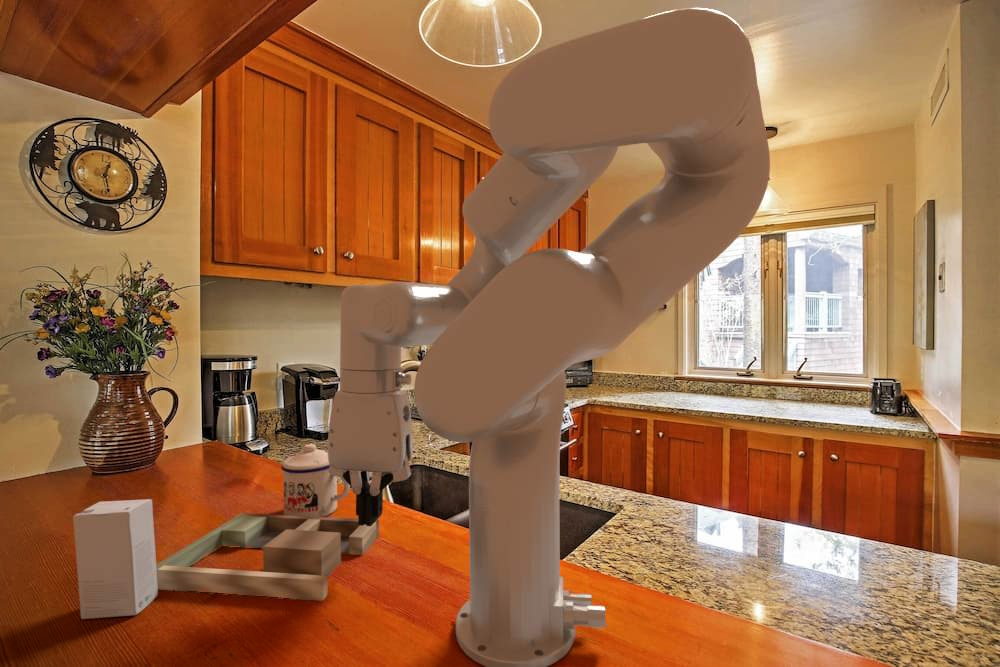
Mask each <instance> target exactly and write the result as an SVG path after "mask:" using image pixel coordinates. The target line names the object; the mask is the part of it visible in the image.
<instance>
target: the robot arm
mask: <svg viewBox="0 0 1000 667" xmlns="http://www.w3.org/2000/svg"><path fill="white" fill-rule="evenodd" d="M756 71H757V70H756V62H755V57H754V54H753V49H752V46H751V43H750V41H749V38H748V37H747V35H746V33H745V32H744V30H743V28H742V27H741V26H740V25H739V23H737V22H736V21H735V20H734V19H733V18H732V17H730V16H729V15H727V14H724V13H722V12H721V11H718V10H715V9H711V8H710V9H709V8H704V7H703V8H702V7H688V8H681V9H673V10H670V11H664V12H661V13H657V14H654V15H650V16H647V17H643V18H639V19H636V20H633V21H630V22H626V23H624V24H620V25H617V26H613V27H610V28H607V29H603V30H600V31H596V32H594V33H590V34H587V35H583V36H581V37H577V38H574V39H570V40H567V41H565V42H562V43H558V44H556V45H553V46H550V47H548V48H545V49H543V50H541V51H539V52H536V53H535V54H532V55H531V56H528V57H527V58H526V59H524V60H523V61H520V62H519V63H517V65H516V66H515V67H513V68H512V69H510V70H509V71H508V73H507V74H505V76H504V77H503V78H502V80H501V81H500V82H499V84H498V86H496V89H495V91H494V92H493V95H492V97H491V99H490V103H489V107H488V108H489V109H488V127H489V132H490V135H491V137H492V139H493V142H494V143H495V144H496V145H497V148H499V149H500V150H501V151H502V152H503V153H502V155H501V156H500V157H499V159H498V160H497V161H496V162H495V163H494V164H493V166H492V167H491V168H490V170H489V171H488V172H486V174H485V176H484V177H482V179H481V180H480V181H479V182H478V184H477V185H476V186H475V187H474V188H473V189H472V191H471V192H470V193H469V194H468V195H467V196H466V197H465V199H464V201H463V203H462V210H461V211H462V212H461V213H462V216H463V218H464V219H463V220H464V222H465V224H466V225H467V227H468V229H469V231H470V232H471V234H472V235H473V236H474V237H475V239H474V247H473V250H472V253H471V255H470V257H469V258H468V260H467V261H466V262H465V264H464V265H463V267H462V268H461V269H460V270H459V271H458V272H457V273H455V276H453V278H452V279H450V281H449V282H448V283H446V284H436V283H435V284H434V283H427V282H426V283H425V282H411V281H410V282H409V281H395V282H394V281H392V282H389V283H388V282H387V283H384V284H381V285H379V284H378V285H377V284H353V285H348V286H347V287H345V288H344V289H343V290H342V292H341V295H340V339H339V340H340V342H339V343H340V345H339V346H340V348H339V349H340V350H339V351H340V352H339V355H340V358H339V360H340V362H339V366H340V367H339V390H337V391H335V394H334V397H333V402H332V407H331V411H330V417H329V424H328V435H327V436H328V437H327V453H328V461H329V464H330V467H329V473H330V474H331V475H334V476H337V478H340V479H341V478H344V479H345V480H346V482H347V483H348V484H349V485H350V488H351V490H352V493H353V494H354V495H355V515H356V516H358V518H357V519H358V525H361V526H363V525H367V526H372V525H373V524H374V522H375V521H376V520H379V518H380V517H382V514H383V512H384V511H383V510H384V509H383V508H384V502H383V501H384V500H383V499H384V498H383V497H384V489H386V487H388V486H389V485H390V484H391V483H396V482H401V481H406V480H408V479H409V477H410V476H412V471H411V467H410V463H409V462H410V461H411V460H412V459H413V455H414V452H413V451H414V440H413V424H412V415H411V408H410V402H409V401H410V400H409V396H408V392H407V391H406V390H401V389H402V388H403V386H407V385H409V386H410V385H411V383H412V374H407V373H405V372H403V367H402V348H410V347H423V346H430V347H429V349H428V350H427V352H426V353H425V354H424V355H423V358H422V360H421V361H420V363H419V365H418V369H417V371H416V374H415V375H416V376H415V379H414V386H413V387H414V394H413V395H414V396H413V397H414V403H415V407H416V410H417V413H418V415H419V417H420V419H421V420H422V422H423V424H424V425H425V426H426V427H427V428H428V429H429V430H430V431H431V432H432V433H434V434H436V435H437V436H438V437H440V438H442V439H444V440H447V441H450V442H454V443H455V442H456V443H463V444H465V443H472V444H471V449H470V453H469V454H470V455H469V466H468V516H469V517H468V521H469V524H468V525H469V526H468V529H469V530H468V532H469V534H468V535H469V536H468V537H469V600H467V601H466V602H465V603H464V605H462V606H461V608H460V609H459V611H458V613H457V615H456V619H455V635H456V641H457V643H458V644H459V648H460V649H461V650H462V651H463V652H464V653H465V655H467V656H468V657H469V658H470V659H472V660H473V661H474V662H476V663H478V664H479V665H481V666H484V667H549V666H551V665H553V664H556V663H557V662H558V661H559V660H561V659H562V658H563V657H565V656H566V655H567V653H569V651H570V650H571V648H572V646H573V644H574V641H575V637H576V626H585V627H589V628H601V629H606V626H607V623H606V620H607V619H606V617H607V616H606V608H605V605H595V604H592V593H570V590H565V589H564V578H563V576H561V566H560V565H561V564H560V563H561V562H560V561H561V560H560V558H561V554H560V553H561V549H560V548H561V547H560V546H561V543H560V542H561V541H560V536H561V534H560V532H561V530H560V519H561V518H560V487H561V486H560V480H561V479H560V471H561V470H560V469H561V468H560V467H561V466H560V465H561V464H560V457H561V455H560V454H561V438H562V437H561V436H562V426H563V420H564V419H563V418H564V411H565V406H566V405H565V404H566V396H567V378H566V377H567V376H566V370H567V368H568V369H569V367H570V366H573V365H574V364H579V363H582V362H586V361H587V362H588V361H590V360H594V359H598V358H601V357H604V356H606V355H607V354H609V353H611V352H612V351H614V350H616V349H617V348H618V347H619V346H620V345H621V344H622V343H624V341H625V340H626V339H627V338H629V336H630V335H631V334H633V333H634V332H635V331H636V330H637V329H638V328H639V327H640V326H641V325H643V324H644V323H645V322H646V321H648V319H649V318H650V317H652V316H653V315H654V314H655V313H656V312H657V311H659V310H660V309H661V308H662V307H663V306H665V305H666V304H667V303H668V302H669V301H670V300H671V299H672V298H674V297H675V296H676V295H677V294H678V293H679V292H680V291H682V289H683V288H684V287H685V286H687V285H688V284H689V283H690V282H691V281H692V280H694V278H695V277H697V276H698V275H699V274H700V273H701V272H702V271H703V270H705V269H706V268H707V267H708V266H709V265H710V264H711V263H712V262H714V261H715V260H716V259H717V258H718V257H720V256H721V254H722V253H724V252H725V251H726V249H728V248H729V247H730V246H731V245H732V244H733V243H734V242H735V241H736V240H737V239H738V238H739V236H741V234H742V233H743V232H744V231H745V230H746V228H747V227H748V226H749V224H750V223H751V222H752V220H753V219H754V217H755V215H756V214H757V213H758V211H759V208H760V206H761V204H762V202H763V199H764V198H765V194H766V191H767V189H768V183H769V180H770V174H771V173H770V172H771V158H770V156H771V155H770V154H771V153H770V148H769V140H768V136H767V131H766V124H765V121H764V120H765V119H764V114H763V109H762V101H761V96H760V95H761V94H760V89H759V87H758V78H757V72H756ZM637 144H647V145H648V147H649V148H650V149H651V150H652V152H653V153H654V154H656V156H657V157H658V159H659V160H660V161H661V162H662V164H663V167H664V175H663V177H662V178H661V179H660V181H659V183H658V184H656V185H655V186H654V187H653V188H652V189H650V190H649V191H647V192H645V194H643V195H642V196H640V197H639V198H637V199H636V200H634V201H633V202H632V203H630V204H629V205H628V206H627V207H626V208H625V209H623V211H621V212H620V213H619V215H618V216H617V217H616V218H615V219H614V220H613V221H612V222H611V223H610V224H609V225H608V226H607V227H606V228H605V229H604V231H602V232H601V233H600V234H598V236H597V237H596V238H594V239H593V240H592V241H591V242H590V243H589V244H588V245H587V246H585V247H584V248H583V249H582V250H581V251H579V252H577V251H573V250H569V249H566V248H553V247H551V248H543V249H539V250H538V249H537V250H534V251H531V252H529V253H527V252H528V251H530V249H531V248H533V246H534V245H536V244H537V242H538V241H539V240H540V239H541V238H542V237H543V236H544V235H545V234H546V233H547V232H548V231H549V230H550V229H551V228H552V227H553V226H554V224H555V223H557V222H558V220H559V219H561V217H562V216H564V215H565V213H566V212H567V211H568V210H569V209H570V208H571V207H572V206H573V205H574V204H575V203H576V202H577V201H578V200H579V199H580V198H581V197H582V196H583V195H584V194H585V193H586V192H587V191H588V190H589V188H591V187H592V186H593V185H594V184H595V182H596V181H597V180H598V179H599V178H600V177H601V176H602V175H604V173H605V172H606V171H607V169H608V168H609V167H610V165H611V164H612V162H613V160H614V158H615V157H616V154H617V151H618V148H619V147H624V146H630V145H637ZM369 472H370V473H372V474H371V479H370V474H369ZM370 480H371V481H370Z"/></svg>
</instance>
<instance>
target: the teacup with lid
mask: <svg viewBox="0 0 1000 667" xmlns="http://www.w3.org/2000/svg"><path fill="white" fill-rule="evenodd" d="M329 467H330V464H329V461H328V452H326V451H324V450H321V449H318V448H317V446H316V444H315V443H309V444H305V445H304V446H303V450H302V451H299V452H297V453H296V454H295V455H293V456H290V457H287V458H286V459H285V460H284V461H283V462H282V464H281V470H282V479H283V480H282V483H283V484H282V485H283V487H282V488H283V515H292V516H313V517H328V516H329V515H331V514H333V513H334V512H335V511H336V510H337V507H338V501H340V500H343V499H344V498H346V496H348V493H349V492H350V489H351V486H350V485H349V484H348V483H347V482H346V480H345V479H344V478H340V479H341V480H342V482H343V484H344V486H343V491H342V493H341V494H339V495H338V479H337V478H338V477H337V476H334V475H331V474H330V473H329Z"/></svg>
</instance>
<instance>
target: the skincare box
mask: <svg viewBox="0 0 1000 667" xmlns="http://www.w3.org/2000/svg"><path fill="white" fill-rule="evenodd" d="M153 510H154V509H153V499H151V498H150V499H149V498H148V499H131V500H130V499H129V500H127V499H126V500H112V501H111V500H107V501H98V502H97V503H94V504H93V505H91V506H89V507H87V508H84V509H83V510H81V511H80V512H77V513H76V514H74V515H73V516H72V522H73V531H74V534H73V535H74V544H75V556H76V559H75V560H76V570H77V571H76V572H77V585H78V595H79V596H78V597H79V610H80V612H79V613H80V618H81V620H86V619H100V618H101V619H102V618H103V619H104V618H114V617H129V616H136V615H138V614H139V613H141V612H142V611H143V610H144V609H145V608H146V607H148V606H149V605H150V604H151V603H152V602H153V601H154V600H155V599H156V598H157V597H158V595H159V589H158V586H157V569H156V564H157V558H156V557H157V556H156V542H155V527H154V514H153V513H154V512H153Z"/></svg>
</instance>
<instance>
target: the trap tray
mask: <svg viewBox="0 0 1000 667" xmlns="http://www.w3.org/2000/svg"><path fill="white" fill-rule="evenodd" d="M379 521H380V520H379V519H377V520H376V521H375V522H374V524H373V525H372V526H367V525H363V526H361V525H358V518H353V517H352V518H351V517H334V516H333V517H331V516H330V517H329V516H325V517H313V516H292V515H284V514H267V513H266V514H265V513H263V514H262V513H251V512H250V513H247V512H245V513H244V512H241V513H240V514H238V515H236V516H234V517H233V518H231V519H230V520H228V521H226V522H225V523H222V524H221V525H220V526H218V527H216V528H214V529H213V530H211V531H209V532H208V533H206V534H205V535H203V536H201V537H199V538H198V539H196V540H195V541H192V542H191V543H190V544H188V545H186V546H185V547H183V548H181V549H180V550H177V551H176V552H175V553H173V554H171V555H169V556H168V557H166V558H165V559H163V560H161V561H160V562H158V563H156V569H157V586H158V591H159V590H160V591H161V590H162V591H173V590H175V592H187V591H210V592H218V593H229V594H231V593H232V594H240V595H239V596H242V595H260V596H261V595H262V596H271V597H272V596H273V597H279V598H278V599H283V598H290V599H289V600H297V599H298V600H299V599H300V600H301V601H311V600H319V601H318V602H323V601H322V600H324V599H325V598H326V597H327V595H328V578H327V576H320V575H305V574H289V573H274V572H264V571H260V570H259V571H257V570H255V571H254V570H241V569H226V568H210V567H209V568H208V567H196V566H195V567H194V566H192V567H189V566H191V565H193V564H194V563H196V562H197V561H199V560H200V559H202V558H203V557H204V556H206V555H207V554H209V553H211V552H212V551H214V550H215V549H217V548H219V547H220V546H221V545H227V546H240V547H252V548H263V546H264V545H266V544H267V543H269V542H270V541H271V540H273V539H274V538H275V537H277V536H278V535H279V534H281V533H282V532H283V531H285V530H286V529H289V530H306V531H322V532H338V533H340V534H341V555H356V556H357V555H358V556H363V555H364V554H365V553H366V552H367V551H368V549H369V548H370V547H371V546H372V545H373V543H375V541H376V540H377V539H378V537H379V536H380V522H379ZM219 549H220V548H219ZM178 590H179V591H178ZM241 594H242V595H241ZM280 597H281V598H280ZM327 598H328V597H327ZM327 598H326V599H327ZM326 599H325V600H326ZM300 600H299V601H300ZM325 600H324V601H325Z"/></svg>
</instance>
